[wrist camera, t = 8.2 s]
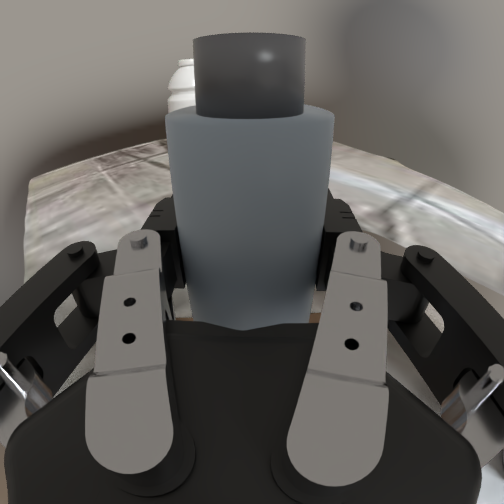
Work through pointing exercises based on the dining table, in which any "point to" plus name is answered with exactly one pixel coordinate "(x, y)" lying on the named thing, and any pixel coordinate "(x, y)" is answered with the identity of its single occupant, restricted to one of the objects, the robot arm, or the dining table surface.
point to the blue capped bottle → (250, 181)
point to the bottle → (182, 86)
